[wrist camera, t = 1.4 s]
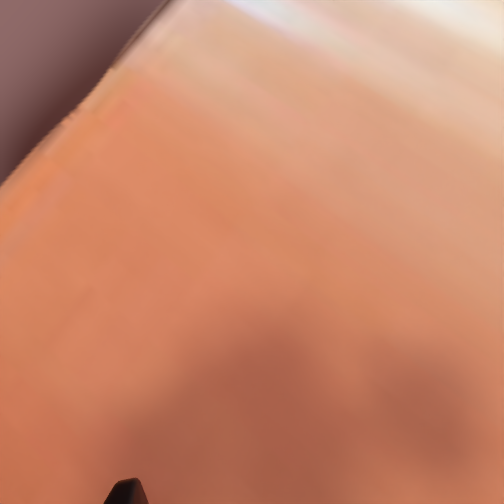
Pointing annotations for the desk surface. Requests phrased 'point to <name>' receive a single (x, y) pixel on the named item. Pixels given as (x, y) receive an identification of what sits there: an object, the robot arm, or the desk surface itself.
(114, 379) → the desk surface
